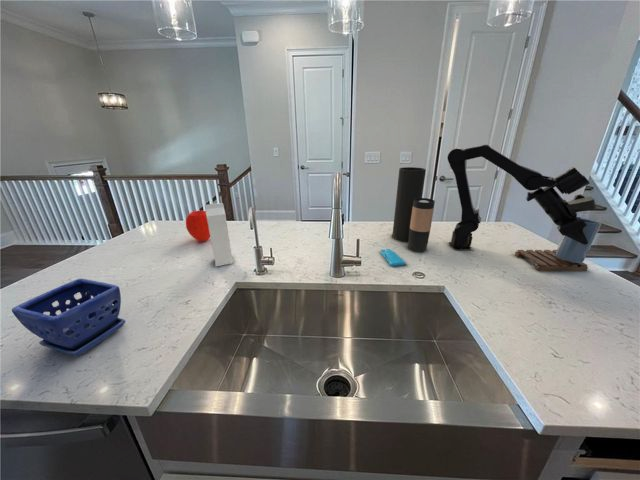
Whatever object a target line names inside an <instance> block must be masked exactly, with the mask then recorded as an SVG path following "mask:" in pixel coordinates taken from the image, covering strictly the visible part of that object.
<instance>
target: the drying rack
mask: <svg viewBox="0 0 640 480" xmlns="http://www.w3.org/2000/svg"><path fill="white" fill-rule="evenodd" d="M556 251H557V249H553V250H550V249H544V250H542V249H535V250H533V249H525V250H524V249H517V251H515V252H514V256H515V257H517V258H526V259H527V260H530V261H531V262H532V263H534V264H535V267H534V269H535V270H536V271H538V272H555V271H556V272H557V271H558V272H587V271H588V269H589V267H588V264H587V263H584V262H583V263H574V262H570V261H566V260H563V259H560V258H558V257H556V256H555V254H556Z"/></svg>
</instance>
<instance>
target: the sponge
mask: <svg viewBox="0 0 640 480" xmlns="http://www.w3.org/2000/svg"><path fill="white" fill-rule="evenodd" d="M380 254H381V255H382V256H383V258H384V259H385V260H386V261H387V263H388V265H389V266H392V267H393V266H394V267H395V266H405V265H406V262H405V260H403V259H402V258H401V256H399V255H398V254H397V253H396V252H395V251H394V250H391V249H390V248H385V249H381V250H380Z"/></svg>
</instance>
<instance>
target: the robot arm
mask: <svg viewBox="0 0 640 480" xmlns="http://www.w3.org/2000/svg"><path fill="white" fill-rule="evenodd" d="M477 158H483V159H485V160H486V161H488V162H489V163H491V164H493V165H495V166H496V167H498V168H499V169H501V170H503V171H504V172H506V173H507V174H509V175H511V176H512V177H513V178H514V180H516V181H517V182H518V183H519V184H520V185H521V186H522V187H523V188H524V189H525V190H527V195H526V197H525V200H526V202H530V201H532V200H535V202H536V203H537V204H538V205H539V206H540V207H541V209H542V210H543V211H544V212H545V214H546V215H547V216H548V217H549V218H550V220H552V222H553V223H554V225H556V226H557V227H556V229H557V230H558V232H559V234H561V236H562V237H563V236H567V237H569V238H571V239H573V240H575V241H577V242H579V243H582V244H584V245H586V244H588V241H587V239H586V237H585V234H584V232H583V229H584V227H586V226H587V224H586V223H585V222H584V221H583V220H582V219H583V218H582V217H580V216H578V213H580V212H585V211H594V210H597V206H596V201H595V198H594V197H592V196H586V197H585V196H584V195H583V194H581V193H580V194H576V195H574V197H573V199H571V200H569V201H567V200H566V199H563V198H562V197H561V195H560V194H562V195H563V194H565V195H568V196H569V195H571V194H573V193H574V192H576V191H578V190H581V189H583V188H584V187H586V186H588V185H590V184H591V183H590V181H589V180H588V178H587V177H586V176H585V175H583V174H582V173H581V172H580V171H579V170H577V168H576V167H574V166H571V167H570V168H569V169H567V170H565V172H563V173H561V174H559V175H557V176H555V177H552V176H547V175H543V174H542V173H541V172H539V171H537V170H535V169H532V168H529V167H526V166H523V165H521V164H519V163H517V162H516V161H514V160H512V159H510V158H509V157H507V156H505V155H504V154H502V153H501V152H500V151H498V150H496V149H494V148H492V147H491V146H490V145H489V144H486V143H485V144H482V145H478V146H472V147H468V148H463V147H456V148H453V149H451V150H450V151H449V153H448V154H447V162H448V165H449V167H450V169H451V170H452V173H453V175H454V178H455V182H456V188H457V193H458V197H459V202H460V208H461V219H460V221H459V222H457V223H456V224H455V227H454V230H452V235H451V240H450V241H449V242H448V244H449V245H450V246H451V247H452V248H453V249H454V250H472V247H471V246H472V241H473V233H474V232H476V231H477V230H478V229H479V225H480V224H481V222H482V217H481V215H480V209H479V208H477V209H475V207H474V204H473V200H472V194H471V190H470V189H471V188H470V184H469V178H468V174H467V173H468V172H467V161H468V160H469V161H470V160H473V159H477ZM555 188H556V189H557V190H558V192H559V193H560V194H559V193H558V192H557V190H556V189H555Z"/></svg>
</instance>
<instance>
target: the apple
mask: <svg viewBox="0 0 640 480" xmlns="http://www.w3.org/2000/svg"><path fill="white" fill-rule="evenodd" d="M185 228H186V230H187V232H188V233H189V235H190V236H191V237H192V238H193V239H194V240H196V242H197V241H198V242H206V241H208V240H209V239H211V237H210V232H209V227H208V221H207V216H206V210H194V211H190V212H189V213H188V214H187V215H186V217H185Z"/></svg>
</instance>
